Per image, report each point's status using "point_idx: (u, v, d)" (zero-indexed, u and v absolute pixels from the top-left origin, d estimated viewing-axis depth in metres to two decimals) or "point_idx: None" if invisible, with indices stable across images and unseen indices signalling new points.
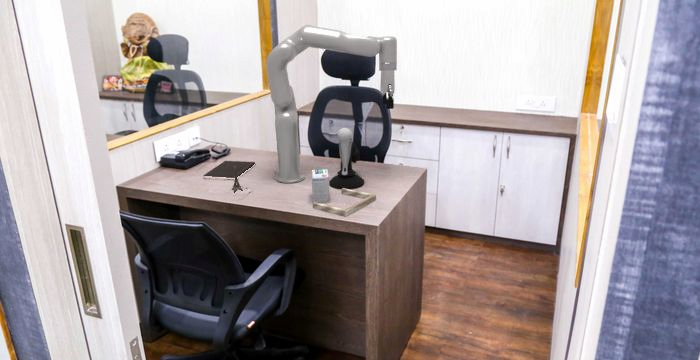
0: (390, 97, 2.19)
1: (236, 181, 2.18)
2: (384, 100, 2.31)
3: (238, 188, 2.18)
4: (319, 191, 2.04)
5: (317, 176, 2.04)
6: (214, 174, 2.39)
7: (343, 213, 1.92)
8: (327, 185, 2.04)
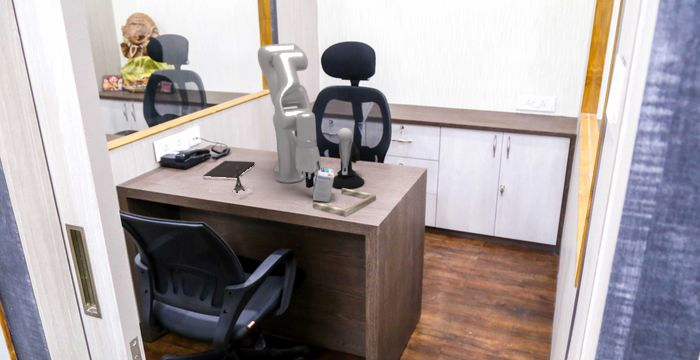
0: (314, 176, 2.09)
1: (238, 181, 2.18)
2: None
3: (240, 188, 2.18)
4: (322, 189, 2.04)
5: (323, 174, 2.04)
6: (214, 174, 2.39)
7: (343, 213, 1.92)
8: (331, 185, 2.04)
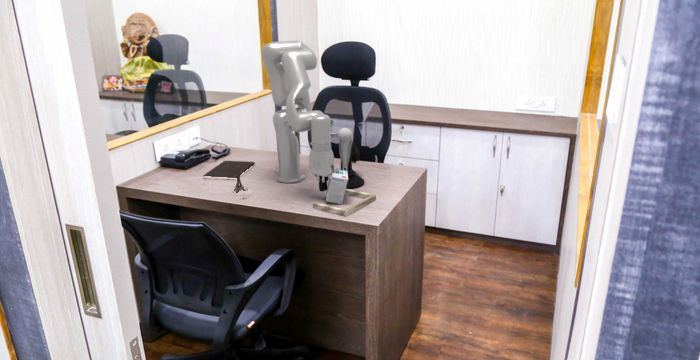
0: (327, 179, 2.06)
1: (239, 181, 2.17)
2: None
3: (240, 188, 2.18)
4: (335, 191, 2.02)
5: (337, 176, 2.01)
6: (214, 174, 2.39)
7: (343, 213, 1.92)
8: (345, 187, 2.01)
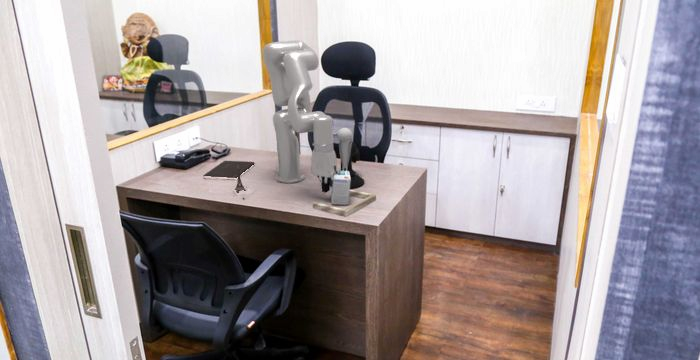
0: (330, 180, 2.05)
1: (239, 181, 2.17)
2: None
3: (241, 188, 2.18)
4: (340, 192, 2.01)
5: (339, 177, 2.00)
6: (214, 174, 2.39)
7: (343, 213, 1.92)
8: (348, 187, 2.00)
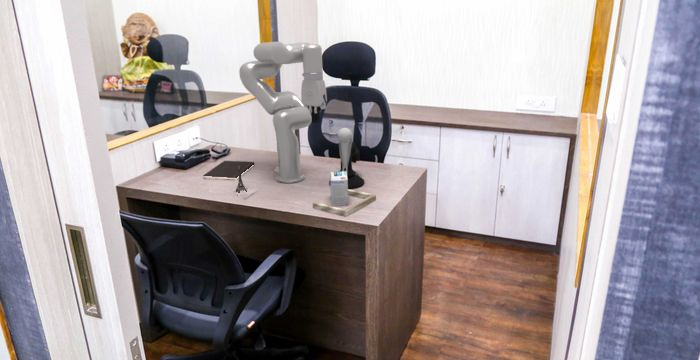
0: (320, 110, 2.08)
1: (240, 181, 2.17)
2: None
3: (242, 188, 2.18)
4: (338, 193, 2.01)
5: (336, 178, 2.01)
6: (214, 174, 2.39)
7: (343, 213, 1.92)
8: (346, 188, 2.00)
